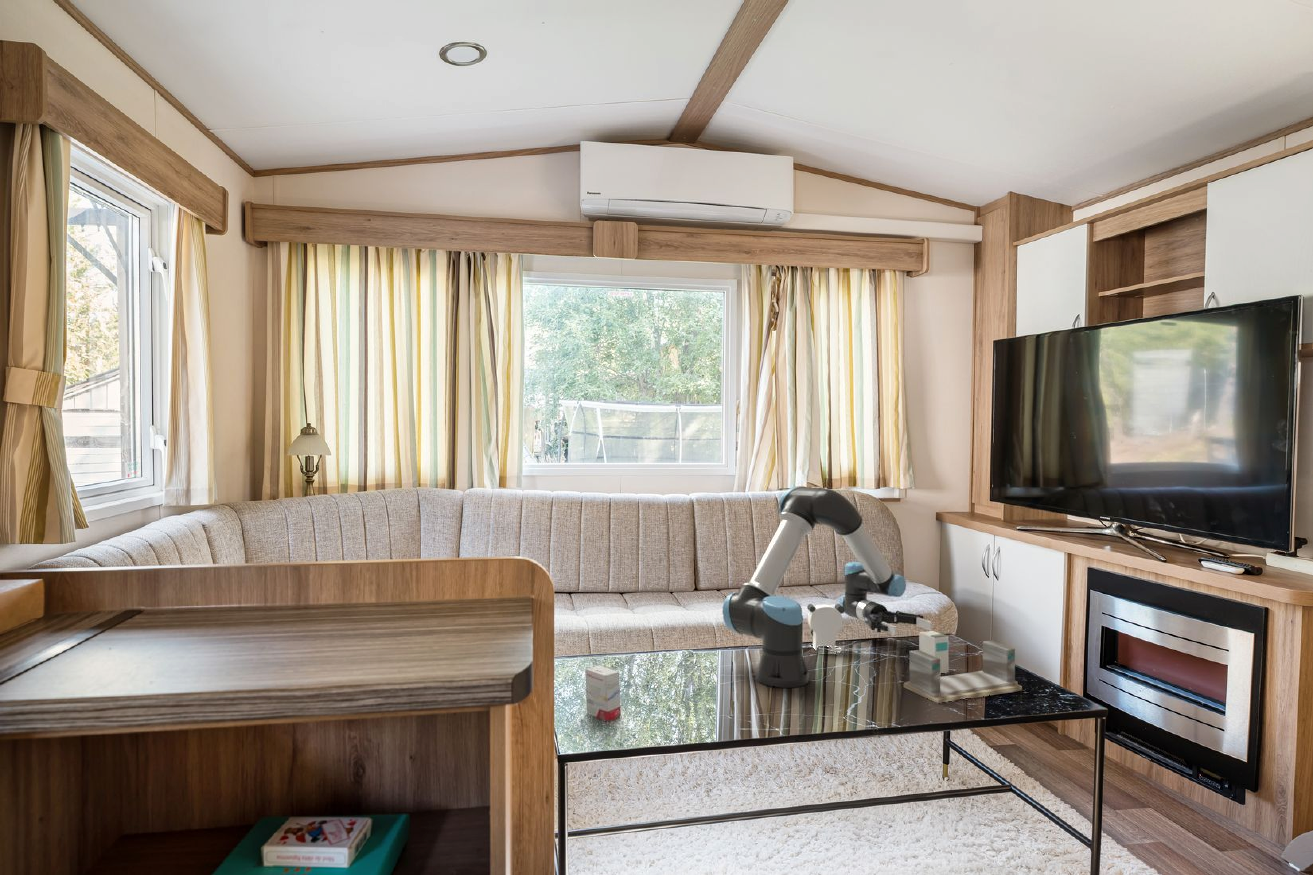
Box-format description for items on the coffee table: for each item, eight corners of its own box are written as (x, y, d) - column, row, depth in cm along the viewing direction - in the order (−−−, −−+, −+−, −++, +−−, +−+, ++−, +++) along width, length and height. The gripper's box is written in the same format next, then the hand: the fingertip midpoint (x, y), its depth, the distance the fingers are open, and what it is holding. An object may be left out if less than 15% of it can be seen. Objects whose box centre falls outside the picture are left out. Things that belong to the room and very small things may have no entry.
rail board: (937, 703, 202) (937, 662, 202) (903, 686, 216) (903, 648, 215) (1021, 690, 212) (1021, 651, 212) (984, 674, 225) (984, 638, 225)
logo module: (935, 675, 226) (935, 637, 226) (919, 667, 233) (919, 631, 232) (948, 673, 228) (948, 635, 227) (932, 666, 234) (932, 629, 234)
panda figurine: (838, 644, 258) (838, 600, 258) (848, 654, 246) (848, 608, 246) (803, 645, 257) (803, 601, 257) (812, 655, 246) (811, 609, 246)
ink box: (621, 717, 194) (621, 671, 194) (606, 722, 191) (606, 676, 191) (599, 708, 201) (599, 664, 200) (584, 713, 197) (584, 668, 197)
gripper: (902, 620, 264) (945, 636, 244) (841, 627, 255) (880, 645, 235) (902, 598, 264) (945, 612, 244) (841, 605, 255) (880, 621, 235)
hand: (913, 628), depth 239 cm, fingers open, 13 cm apart
